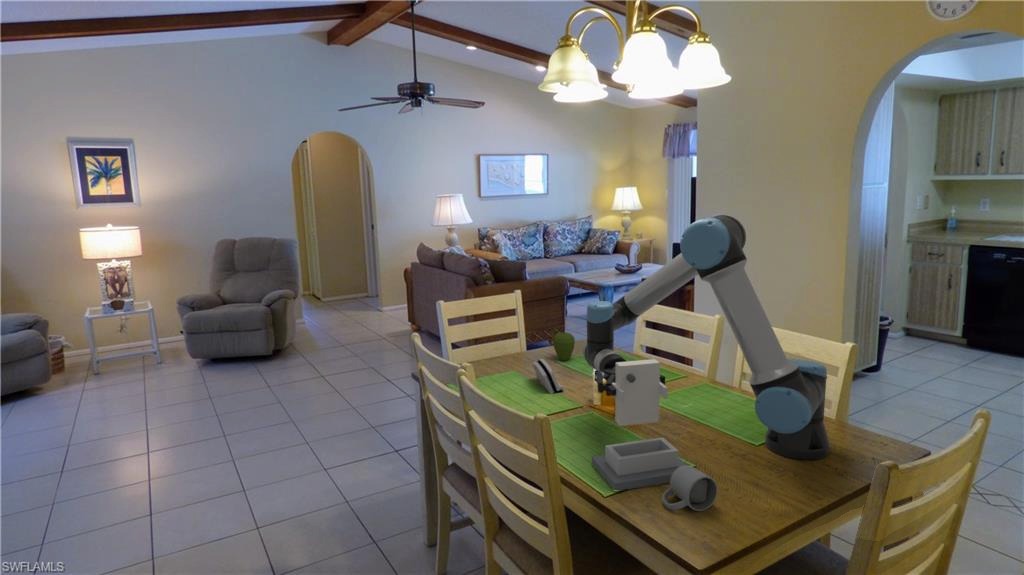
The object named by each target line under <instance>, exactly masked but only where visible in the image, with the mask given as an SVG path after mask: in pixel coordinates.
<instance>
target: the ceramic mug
mask: <svg viewBox="0 0 1024 575" xmlns="http://www.w3.org/2000/svg"><path fill="white" fill-rule="evenodd" d="M669 486H670V487H669V488H668V489H666V490H665V491H664V493H663V494H662V498H661V500H662V502H663V504H664V506H665V507H666V508H667V509H668V510H669V511H679V510H681V509H684V508H685V507H689V508H690V509H691V510H693V511H696V512H703V511H706V510H708V509H709V508H711V507H712V506H713V504H714V503H715V501H716V499H717V496H718V485H717V482H716V481H715V479H714V478H713V477H711V476H709V475H708V474H706V473H705V472H703V471H700V470H699V469H697V468H695V467H693V466H690V465H688V464H686V465H683V466H679V467H678V468H676V469H675V470H674V471H673V473H672V475H671V477H670V483H669ZM673 494H674V495H675V496H676V497H678V498H679V499H680V501H678V502H675V503H668V502H669V501H668V500H667V499H668V498H669V497H670V496H671V495H673Z"/></svg>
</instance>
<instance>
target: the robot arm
mask: <svg viewBox="0 0 1024 575" xmlns="http://www.w3.org/2000/svg"><path fill="white" fill-rule="evenodd" d="M680 238H681V239H680V241H679V242H680V243H679V244H680V245H679V248H680V253H679V254H677V255H676V256H675V257H673V258H672V259H671V260H669V261H668V262H667V263H666V264H664V265H663V266H662V267H660V268H659V269H657V270H656V271H655V272H653V273H652V274H650V275H649V276H648V277H647V278H645V279H644V280H643V281H641V283H639V284H637V285H636V286H635V287H634V288H632V289H631V290H630V291H628V292H627V293H626V294H624V295H623V296H622V297H620V298H619V299H617V300H616V301H614V302H610V301H606V300H598V301H592V302H589V303H587V308H586V343H585V345H584V347H583V348H582V349H583V351H582V355H583V358H584V360H585V361H586V362H587V364H588V365H589V367H591V368H593V369H594V381H595V382H596V383H597V392H598V393H599V394H601V393H604V392H605V396H607V397H610V396H613V397H615V399H616V398H617V399H618V400H619V401H620V402H621V403H624V391H623V390H622V389H621V388H620V387H619V386H618V385H617V384H616V362H627V360H626V359H625V358H624V357H623V356H621V355H620V353H618V352H616V351H615V350H614V348H615V347H614V344H615V343H614V340H615V336H614V333H615V331H617V330H619V329H621V328H623V327H625V326H629V325H631V324H633V323H634V322H635V321H636V320H637V319H638V318H639V317H640V316H642V315H643V314H644V313H645V312H647V311H649V310H650V309H652V308H653V307H654V306H656V305H657V304H659V303H660V302H662V301H663V300H664V299H666V298H667V297H669V296H670V295H671V294H673V293H674V292H676V291H678V289H680V288H681V287H683V286H684V285H686V284H687V283H689V282H691V280H693V279H694V278H696V277H697V276H699V279H700V280H701V281H703V282H706V283H708V284H710V286H711V288H712V291H713V293H714V295H715V297H716V300H717V301H718V303H719V306H720V308H721V310H722V312H723V314H724V316H725V318H726V320H727V323H728V324H729V327H730V330H731V332H732V333H733V336H734V338H735V340H736V342H737V344H738V345H739V348H740V351H741V352H742V355H743V357H744V359H745V361H746V363H747V366H748V368H749V369H750V372H751V377H750V379H749V385H750V387H751V389H752V392H753V393H754V394H753V395H754V396H755V401H754V411H755V414H756V416H757V418H758V420H759V422H760V423H762V425H764V426H765V427H766V428H767V430H766V432H765V439H764V443H765V446H766V448H768V449H769V450H770V451H771V452H773V453H776V454H778V455H781V456H783V457H787V458H791V459H796V460H803V461H804V460H805V461H807V460H809V461H811V460H812V461H813V460H820V459H824V458H825V457H827V456H828V455H829V454H830V449H831V447H830V446H831V443H830V439H829V436H828V432H827V429H826V426H825V422H824V419H825V418H824V417H825V407H826V406H825V404H826V403H825V402H826V389H827V379H828V374H827V367H826V366H825V365H824V364H822V363H819V362H816V361H811V360H806V359H799V358H787V356H786V353H785V351H784V350H783V347H782V345H781V343H780V341H779V339H778V338H777V335H776V333H775V331H774V329H773V326H772V324H771V322H770V320H769V318H768V316H767V314H766V312H765V309H764V308H763V305H762V304H761V302H760V298H758V296H757V293H756V291H755V289H754V287H753V285H752V282H751V280H750V278H749V276H748V274H747V272H746V270H745V268H746V265H747V262H748V258H747V257H746V254H745V253H744V247H745V245H746V242H747V234H746V230H745V227H744V225H743V224H742V223H741V222H740V221H739V220H738V219H737V218H735V217H733V216H731V215H726V214H723V215H722V214H720V215H715V216H710V217H708V216H706V217H703V218H700V219H697V220H696V221H694V222H692V223H690V224H689V225H688V226H687V227H686V228H685V230H683V233H682V235H681V237H680ZM604 380H605V381H606V383H604ZM659 397H661V398H662V399H664V400H665V399H668V387H667V386H666V376H664V375H663V374H660V384H659Z"/></svg>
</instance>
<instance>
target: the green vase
mask: <svg viewBox="0 0 1024 575" xmlns="http://www.w3.org/2000/svg"><path fill="white" fill-rule="evenodd" d="M575 341H576V338H575V337H574V335H573V334H572V333H570V332H564V331H563V332H558V333H556V334H554V336H553V339H552V342H553V343H552V344H553V348H554V351H555V353H556V356H557V357H558V358H559V360H560V361H562V362H566V361H568V360H569V359H570V358H571V356H572V354H573V352H574V348H575Z"/></svg>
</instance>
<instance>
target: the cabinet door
mask: <svg viewBox="0 0 1024 575" xmlns="http://www.w3.org/2000/svg"><path fill="white" fill-rule="evenodd" d="M626 361H627V360H626ZM660 371H661V363H660V361H658V360H657V359H655V358H654V359H653V358H652V359H641V360H639V359H638V360H630V361H627V362H616V384H617V385H618V386H619V387H620V388H621V389H622V390H623V391H624V403H621V402H620V401H619V400H618V399H617V398H616V397H615V407H614V408H615V413H614V414H615V418H614V419H615V420H614V422H615V423H616V424H617V425H618V426H619V427H623V426H632V425H633V426H634V425H642V424H651V423H652V424H653V423H659V422H660V395H659V384H660V375H661V372H660Z"/></svg>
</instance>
